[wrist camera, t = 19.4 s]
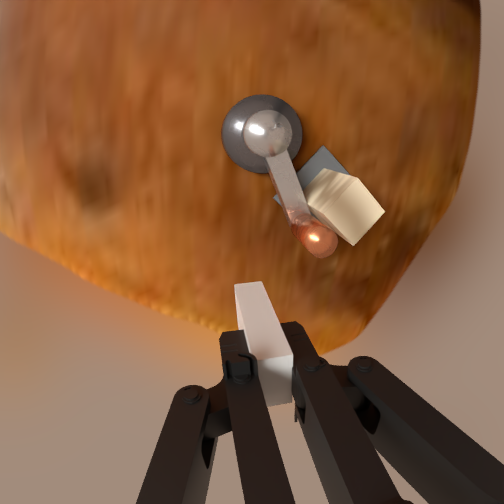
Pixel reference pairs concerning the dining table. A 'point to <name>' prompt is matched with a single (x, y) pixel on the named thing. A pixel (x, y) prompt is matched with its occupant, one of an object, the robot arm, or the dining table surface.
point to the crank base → (237, 119)
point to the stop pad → (317, 169)
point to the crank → (286, 179)
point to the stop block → (342, 204)
